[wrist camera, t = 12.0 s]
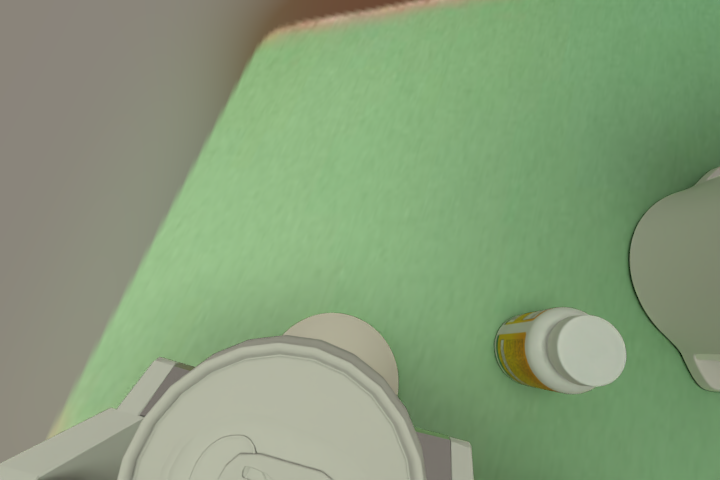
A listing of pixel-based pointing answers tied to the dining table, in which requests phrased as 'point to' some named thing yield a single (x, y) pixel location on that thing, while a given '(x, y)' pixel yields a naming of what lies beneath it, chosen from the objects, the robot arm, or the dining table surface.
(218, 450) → the beverage can
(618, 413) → the dining table surface
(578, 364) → the supplement bottle
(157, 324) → the dining table surface
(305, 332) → the white domed disc
